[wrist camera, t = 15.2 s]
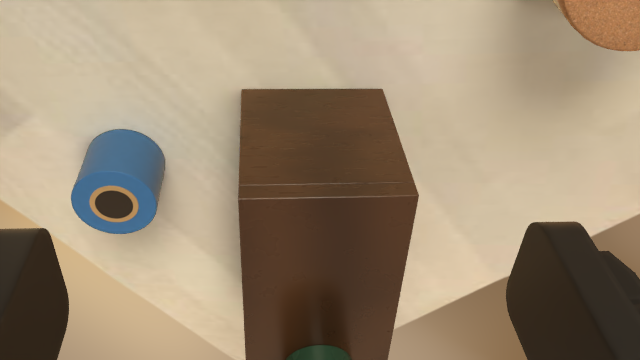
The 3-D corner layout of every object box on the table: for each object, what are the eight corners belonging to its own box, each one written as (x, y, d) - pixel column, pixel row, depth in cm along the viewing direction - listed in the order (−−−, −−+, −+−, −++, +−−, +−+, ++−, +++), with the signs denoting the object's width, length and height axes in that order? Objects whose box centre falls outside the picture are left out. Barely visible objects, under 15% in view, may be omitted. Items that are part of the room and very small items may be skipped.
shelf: (248, 284, 54) (247, 406, 45) (241, 89, 42) (238, 199, 33) (358, 281, 55) (380, 398, 46) (382, 88, 43) (419, 195, 34)
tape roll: (94, 190, 46) (79, 236, 42) (80, 129, 43) (62, 172, 39) (168, 189, 47) (161, 234, 43) (160, 128, 43) (151, 171, 39)
